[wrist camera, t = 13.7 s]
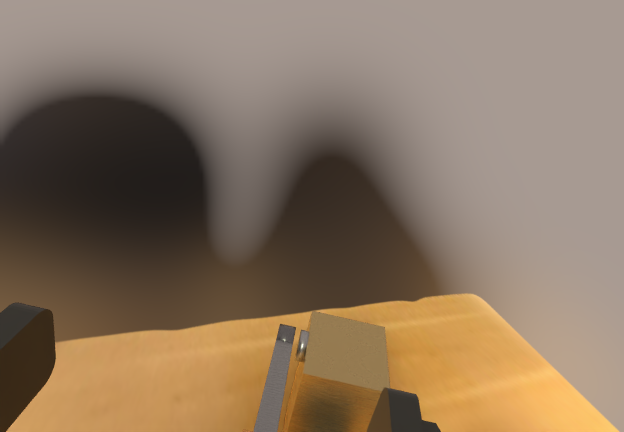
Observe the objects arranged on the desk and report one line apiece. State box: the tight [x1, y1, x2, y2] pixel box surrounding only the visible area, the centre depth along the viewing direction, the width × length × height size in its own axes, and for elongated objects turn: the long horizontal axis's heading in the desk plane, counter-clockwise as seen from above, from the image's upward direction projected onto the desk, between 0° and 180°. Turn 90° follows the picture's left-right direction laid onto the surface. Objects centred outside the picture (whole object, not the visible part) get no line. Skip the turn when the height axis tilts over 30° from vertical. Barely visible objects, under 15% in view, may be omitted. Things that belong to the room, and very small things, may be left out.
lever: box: [243, 324, 296, 432], centre depth 35 cm, size 3×3×22 cm
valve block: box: [283, 311, 390, 432], centre depth 46 cm, size 9×21×16 cm, turn 174°
